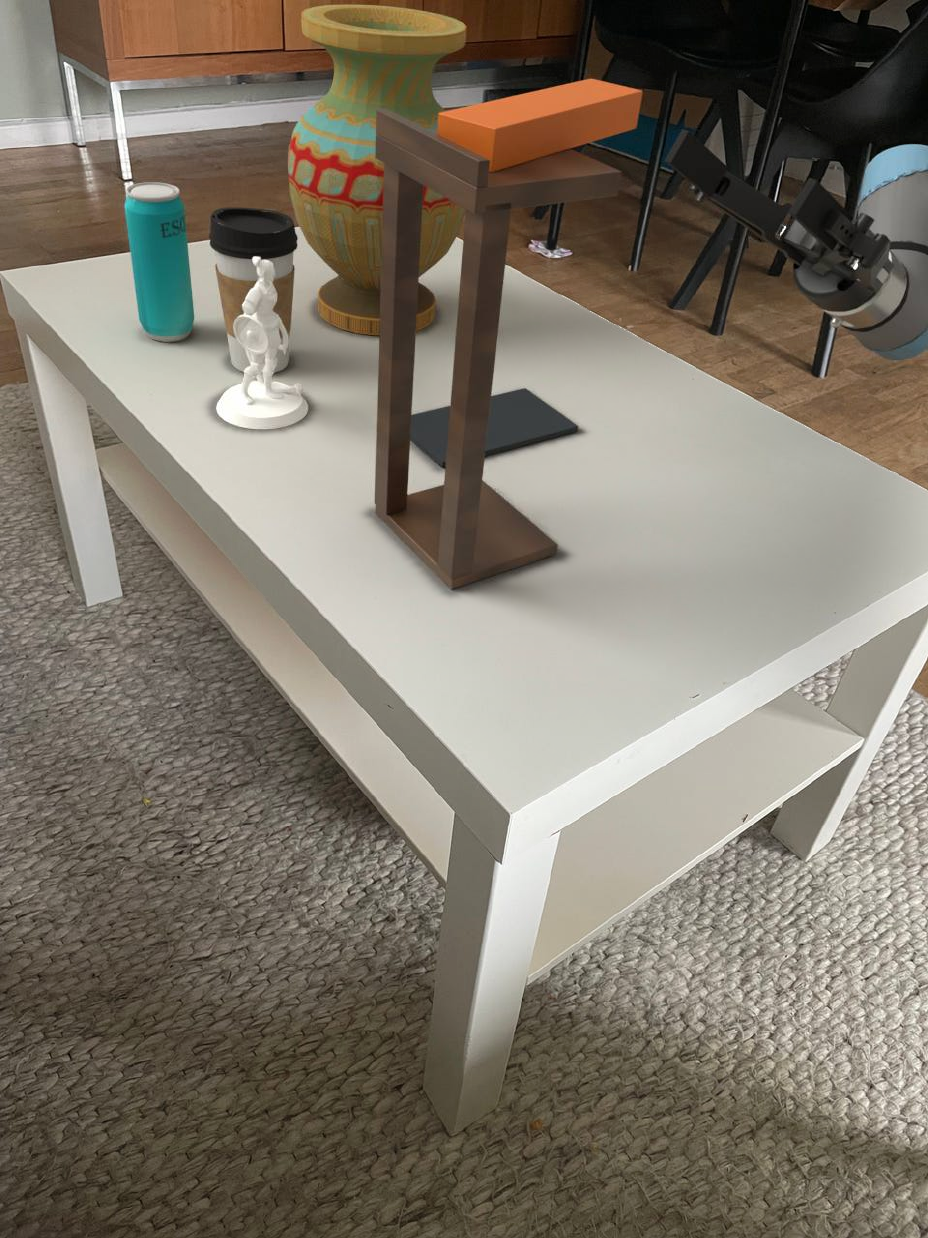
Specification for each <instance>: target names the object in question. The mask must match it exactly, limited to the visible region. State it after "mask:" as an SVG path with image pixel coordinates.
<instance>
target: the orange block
mask: <svg viewBox="0 0 928 1238" xmlns="http://www.w3.org/2000/svg"><path fill="white" fill-rule="evenodd" d="M642 98H643V90H641V89H637V88H633V87H629V86H624V85H620V84H617V83H616V84H615V83H611V82H607V81H604V80H599V79H596V78H587V79H582V80H578V81H574V82H570V83H565V84H561V85H556V86H551V87H547V88H543V89H539V90H534V91H529V92H525V93H521V94H517V95H511V96H508V97H503V98H499V99H495V100H490V101H486V102H480V103H477V104H472V105H467V106H464V107H459V108H454V109H450V110H445V112H441V113H439V114H438V128H437V134H438V135H440V136H442V137H444V138H446V139H448V140H450V141H452V142H454V143H456V144H458V145H460V146H462V147H464V148H466V149H468V150H470V151H472V152H475V153H477V154H479V155H481V156H483V157H485V158H487V159H489V160H490V166H489V172H495V171H498V170H501V169H505V168H508V167H511V166H514V165H518V164H521V163H524V162H527V161H531V160H534V159H537V158H541V157H544V156H547V155H550V154H554V153H557V152H560V151H563V150H567V149H573V148H577V147H579V146H583V145H586V144H590V143H593V142H596V141H599V140H603V139H605V138H610V137H612V136H616V135H619V134H622V133H626V132H629V131H632V130H635V129H636V130H637V127H638V121H639V115H640V109H641V104H642V103H641V102H642Z"/></svg>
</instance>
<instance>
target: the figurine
mask: <svg viewBox="0 0 928 1238" xmlns="http://www.w3.org/2000/svg"><path fill="white" fill-rule="evenodd" d="M252 260H253V264H254V265H255V266H256V267H257V274H258V276H259V278H258V281H257V283H256V284H255V286H254V288H252V289H251V290H250V291H249V293H248V294H247V296H246V298H245V301H244V303H243V304H242V306H243V307H242V309H243V311H244V315H240V316H238V317H237V318H236V319H235V321H234V323H233V331H234V334H235V337H236V339H237V340H238V342H239V343H240V344H241V345H242V346H243V347H244V348H245V350H246V353H247V356H248V359H249V362H250V364H251V366H249V367H247V368H246V369H245V370H244V372H243V373H244V374H243V379H242V382H241V383H238V384H236V385H232V386H231V387H229V388H227V389H226V391H225V392H223V394H222V396H221V397H220V399H219V400H218V401H217V403H216V412H217V414H218V416H219V417H220V418H221V419H222V420H224V421H225V422H227V423H228V424H230V425H233V426H236V427H238V428H239V427H240V428H243V429H250V430H275V429H280V428H286V427H289V426H292V425H295V424H296V423H298V422H300V421H301V420H303V419H304V418H305V416H307V414H308V412H309V405H308V402H307V401H306V399H305V398H304V396H303V395H302V394H301V393H303V391H304V386H303V385H302V384H300V383H294V384H293V385H289V384H285V383H282V382H279V381H273V375H274V374H275V373H276V372H275V367H276V366H277V357H276V354H277V351H278V349H280V350H284V354H285V353H286V349H287V347H288V344H289V345H290V343H289V339H288V334H287V331H286V329H285V327H284V325H283V323H282V320H281V319H280V317H279V315H278V314H276V313H275V312H273V308H274V306H275V304H276V301H277V292H276V289H275V287H274V285H273V281H274V279H273V278H274V276H275V269H274V266H273V263H272V262H270V261H268V260H262V261H261V258H260V257H255V256H254V257H253V259H252ZM278 327H279V328H280V330H281V332H282V336H283V345H280V343H281V338H280V335H279V328H278ZM264 357H265V363H264V362H263V360H264ZM264 364H265V365H264ZM261 372H263V374H262V373H261ZM274 372H275V373H274ZM255 378H256V379H257V380H255Z"/></svg>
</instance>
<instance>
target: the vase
mask: <svg viewBox="0 0 928 1238" xmlns="http://www.w3.org/2000/svg"><path fill="white" fill-rule="evenodd" d="M300 15H301V16H300V17H301V18H300V19H301V32H302V35H304V36H305V37H306V38H307V39H309V40H311V41H312V42H314V43H315V44H317V45H319V46H321V47H322V48H323V49H325V50H326V51H327V52H328V54H329V55H330V57H331V59H332V61H333V78H332V84H331V86H330V89H329V90H328V92H327V93H326V94H325V95H324V96H323V97H321V99H319V100H318V101H316V102H315V103H314V104H313V105H312V106H311V107H310V108H309V109H308V110H307V111H306V112H305V113H304V114H303V115H302V116H301V117H300V118H299V120H298V121H297V122H296V125H295V126H294V128H293V129H292V133H291V137H290V140H289V145H288V153H287V172H288V184H289V187H288V188H289V196H290V201H291V205H292V208H293V212H294V217H295V220H296V222H297V224H298V227H299V229H300V230H301V233H302V235H303V237H304V239H305V240H306V243H307V245H309V247H310V248H311V249H312V250H313V251H314V252H315V253H316V254H317V255H318V257H319V258H320V259H321V260H322V261H323V263H325V265H327V266H328V267H329V268H330V269H331V270H332V271H334V273H335V274H337V276H336V277H333V278H332V279H330V280H328V281H327V282H326V283H324V284H323V285H321V286H320V288H319V289H318V291H317V311H318V314H319V316H320V317H321V318H322V319H323V321H325V322H327V323H328V324H330V325H332V326H334V327H335V328H338V329H341V330H343V331H348V332H351V333H356V334H362V335H370V336H379V328H380V292H381V257H382V222H383V187H384V163H383V162H381V161H380V160H378V159H376V158H375V149H376V110H377V109H388V110H390V111H392V112H394V113H396V114H398V115H400V116H402V117H404V118H406V119H408V120H410V121H412V122H414V123H416V124H418V125H420V126H422V127H424V128H426V129H428V130H436V129H437V128H438V114H439V113H441V112H445V111H446V110H445V108H443V107H442V105H440V103H439V102H438V101H437V100H436V98H435V95H434V92H433V85H432V84H433V83H432V75H433V71H434V67H435V65H436V63H437V62H438V61H440V59H442V58H443V57H445V56H447V55H450V54H452V53H455V52H458V51H459V50H461V49H463V48H464V47H465V45H466V39H467V25H465V23H464V22H462V21H460V20H458V19H456V18H454V17H450V16H447V15H444V14H439V13H435V12H430V11H425V10H420V9H413V8H407V7H399V6H398V7H397V6H389V5H388V6H387V5H376V4H350V3H349V4H327V5H319V6H317V5H316V6H313V7H309V8H306V9H304V10H303V11H301V14H300ZM465 214H466V209H465V208H463V207H461V206H459V205H458V204H456V203H454V202H452V201H451V200H449V199H447V198H445V197H444V196H442V195H440V194H438V193H436V192H435V191H433V190H431V189H429V188H428V187H426V186H424V185H423V204H422V223H421V242H420V261H419V278H420V277H422V276H423V275H424V274H426V273H427V272H428V271H429V270H430V269H432V268H433V267H435V266H436V264H437V263H439V262H441V260H442V259H443V258H444V257H445V256H446V255H447V254H448V252H449V251H450V249H451V247H452V245H453V244H454V242H455V240H456V239H457V237H458V235H459V233H460V231H461V228H462V225H463V222H464V220H465ZM436 305H437V299H436V297H435V294H434V293H433V292H432V291H431V290H430V289H429V288H428V287H427V286H425V285H424V284H422V283H421V282H420V281H418V300H417V319H416V332H418V331H420V330H422V329H424V328H426V327H428V326H429V325H430V324H431V323H432V322H433V321H434V319H435V316H436Z"/></svg>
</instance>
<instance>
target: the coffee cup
mask: <svg viewBox="0 0 928 1238" xmlns="http://www.w3.org/2000/svg"><path fill="white" fill-rule="evenodd" d="M209 218H210V229H209V232H210V233H209V234H208V239H209V246H210V247H211V249H212V250H214V254H215V255H214V256H215V261H216V263H215V265H214V267H215V269H214V270H215V273H216V280H217V286H218V291H219V292H218V293H219V296H220V297H219V298H220V302H221V309H222V315H223V321H224V326H225V331H226V335H227V341H228V349H229V355H230V362H231V364H232V366H233V367H234V369H236V370H237V371H240V372H243V373H244V370H245V369H246V368H247V367H249V366H251V364H250V362H249V359H248V356H247V353H246V350H245V348H244V347H243V346H242V345H241V344H240V343H239V342H238V340H237V339H236V337H235V334H234V331H233V323H234V321H235V319H236V318H237V317H238V316H240V315H244V311H243V309H242V307H243V306H242V304H243V303H244V301H245V298H246V296H247V294H248V293H249V291H250V290H251V289H252V288H254V286H255V284H256V283H257V281H258V278H259V276H258V274H257V267H256V266H255V265H254V264H253V260H252V259H253V257H254V256H255V257H260V258H261V261H262V260H268V261H270V262H272V263H273V266H274V269H275V276H274V278H273V279H274V281H273V285H274V287H275V289H276V292H277V301H276V304H275V306H274V308H273V312H275V313H276V314H278V315H279V317H280V319H281V320H282V323H283V325H284V327H285V329H286V331H287V334H288V339H289V344H288V347H287V349H286V353H285V354H284V350H280V349H278V351H277V354H276V357H277V366H276V367H275V372H274V373H273V374H276V373H278V372H280V371H283V370H285V369H286V368H287V367H288V365H289V361H290V342H291V340H290V339H291V327H292V311H293V299H294V284H295V269H296V267H295V265H294V252H295V251H296V250H297V248H298V242H297V241H298V234H297V233H296V226H295V222H294V220H293V218H292V217H291V216H289V215H287V214H285V213H283V212H279V211H276V210H275V211H274V210H270V209H263V208H257V207H256V208H255V207H240V206H239V207H232V206H231V207H220V208H217V209H215V210H214V211H213V212H211V214H210V217H209ZM278 328H279V327H278ZM279 335H280V338H281V343H280V345H283V336H282V332H281V330H280V328H279ZM263 362H264V363H265V357H264V360H263ZM264 365H265V364H264ZM261 373H262V375H263V372H261Z"/></svg>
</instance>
